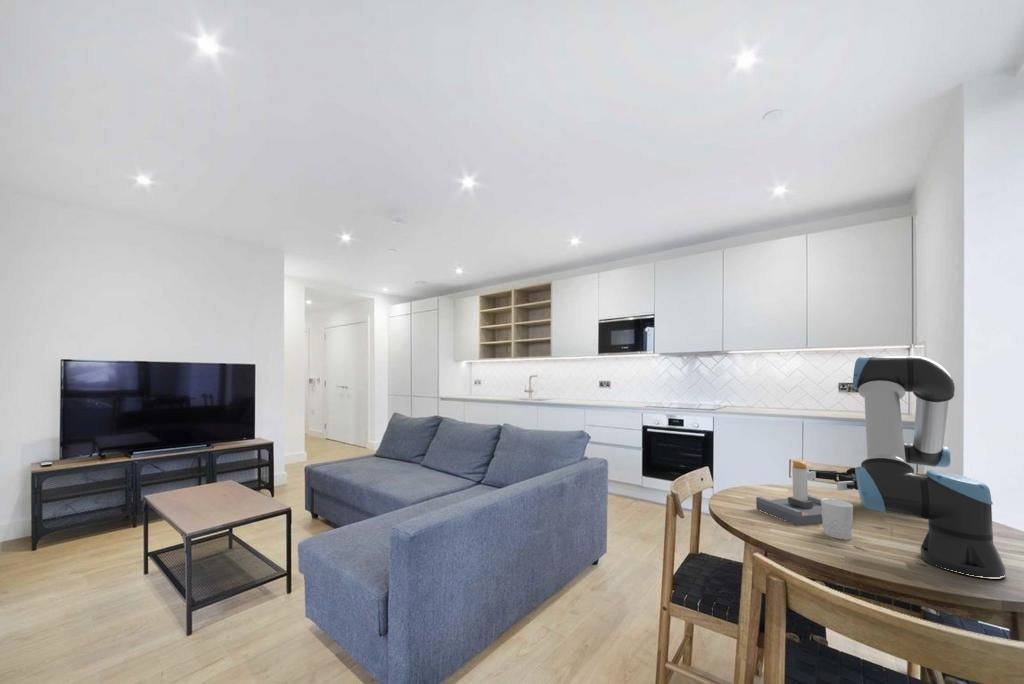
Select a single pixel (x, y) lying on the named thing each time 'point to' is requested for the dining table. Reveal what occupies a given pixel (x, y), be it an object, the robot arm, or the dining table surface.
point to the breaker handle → (800, 486)
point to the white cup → (837, 518)
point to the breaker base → (792, 518)
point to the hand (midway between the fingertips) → (819, 480)
